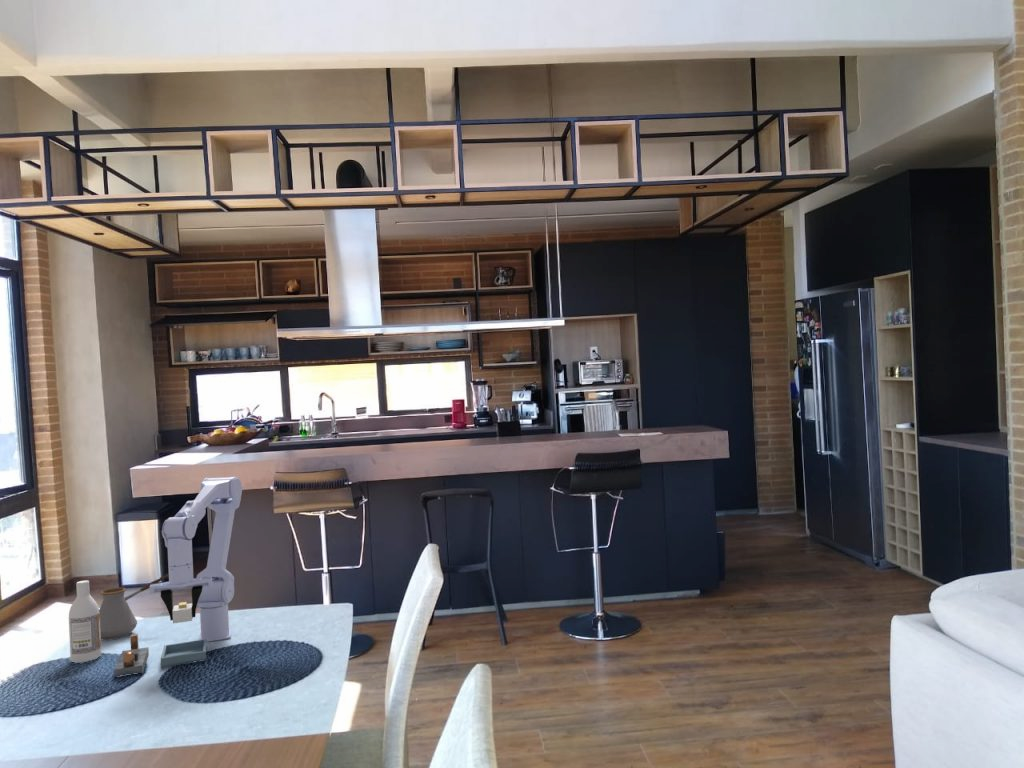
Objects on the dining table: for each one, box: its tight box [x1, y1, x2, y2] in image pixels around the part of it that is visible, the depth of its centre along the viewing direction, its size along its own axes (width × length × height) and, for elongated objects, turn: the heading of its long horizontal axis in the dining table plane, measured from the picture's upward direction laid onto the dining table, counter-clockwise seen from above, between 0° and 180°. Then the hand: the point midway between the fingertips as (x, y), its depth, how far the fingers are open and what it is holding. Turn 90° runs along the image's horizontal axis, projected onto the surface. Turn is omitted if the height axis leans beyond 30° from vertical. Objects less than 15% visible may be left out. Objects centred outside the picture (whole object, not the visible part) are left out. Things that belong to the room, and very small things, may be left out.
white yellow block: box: [172, 601, 193, 624], centre depth 195 cm, size 6×4×4 cm
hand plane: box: [113, 633, 150, 677], centre depth 190 cm, size 15×6×6 cm, turn 20°
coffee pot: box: [99, 573, 169, 641], centre depth 220 cm, size 21×12×15 cm, turn 125°
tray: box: [160, 639, 208, 669], centre depth 194 cm, size 11×10×2 cm
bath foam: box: [68, 579, 102, 663], centre depth 197 cm, size 7×7×20 cm
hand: (183, 617), depth 195 cm, fingers closed on white yellow block, 4 cm apart
